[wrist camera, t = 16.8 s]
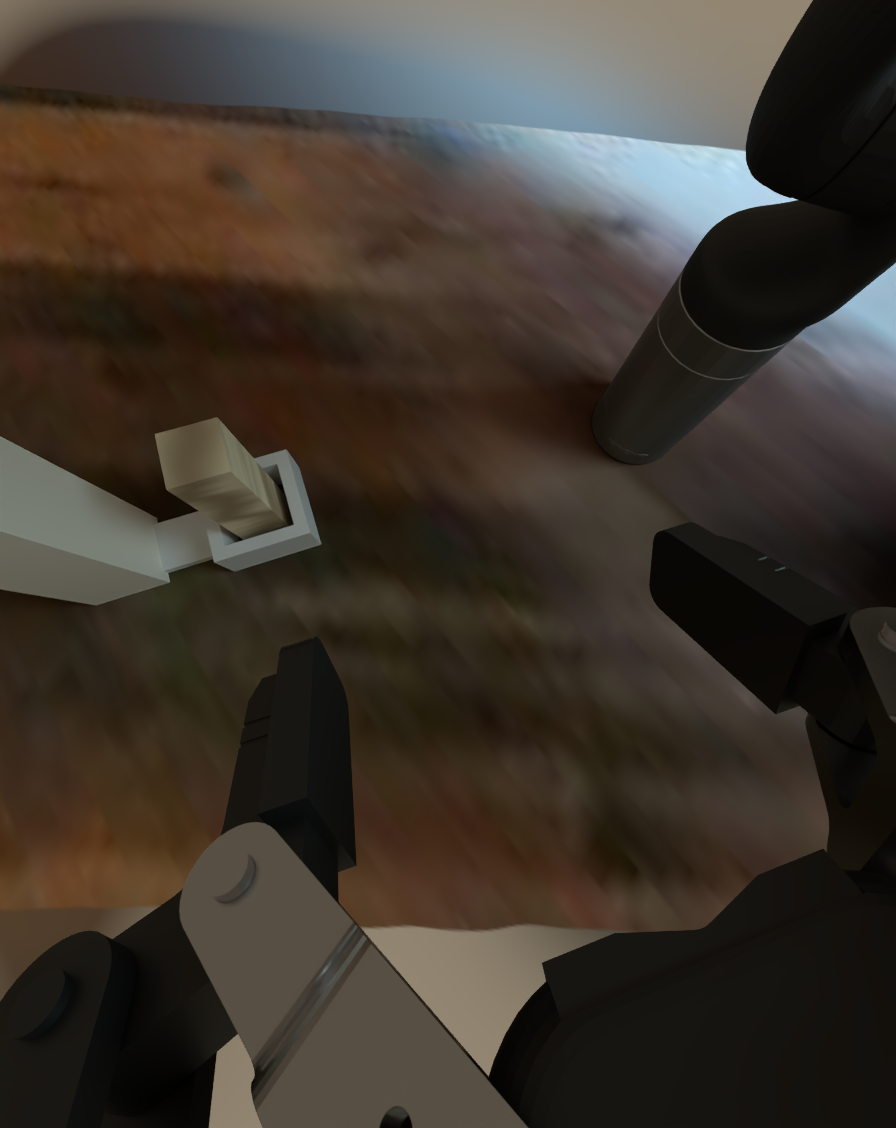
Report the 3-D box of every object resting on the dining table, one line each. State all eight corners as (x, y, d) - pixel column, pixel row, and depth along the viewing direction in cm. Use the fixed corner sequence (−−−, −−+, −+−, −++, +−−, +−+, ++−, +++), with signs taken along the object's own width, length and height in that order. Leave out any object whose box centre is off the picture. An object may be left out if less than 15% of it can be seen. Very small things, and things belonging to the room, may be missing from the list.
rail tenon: (284, 493, 44) (217, 417, 30) (295, 532, 43) (230, 471, 29) (242, 505, 43) (154, 434, 30) (251, 545, 42) (166, 489, 29)
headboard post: (299, 467, 45) (94, 172, 18) (321, 544, 43) (131, 345, 16) (78, 532, 42) (-544, 304, 15) (92, 615, 40) (-586, 524, 14)
